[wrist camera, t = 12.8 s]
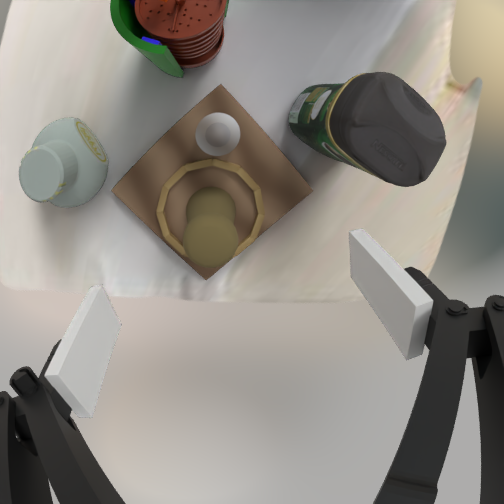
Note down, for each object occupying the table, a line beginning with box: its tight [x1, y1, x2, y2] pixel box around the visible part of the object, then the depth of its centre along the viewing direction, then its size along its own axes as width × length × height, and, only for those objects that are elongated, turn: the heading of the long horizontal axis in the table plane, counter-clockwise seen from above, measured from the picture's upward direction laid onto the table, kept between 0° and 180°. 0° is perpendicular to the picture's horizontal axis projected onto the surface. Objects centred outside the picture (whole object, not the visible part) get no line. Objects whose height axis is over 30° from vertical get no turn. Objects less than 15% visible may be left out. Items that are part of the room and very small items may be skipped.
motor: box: [110, 0, 229, 78], centre depth 21 cm, size 10×9×20 cm
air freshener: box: [19, 118, 108, 208], centre depth 30 cm, size 11×8×10 cm
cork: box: [183, 187, 239, 268], centre depth 33 cm, size 6×6×11 cm
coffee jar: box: [289, 72, 446, 187], centre depth 28 cm, size 10×8×19 cm
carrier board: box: [111, 84, 313, 280], centre depth 35 cm, size 18×17×8 cm
